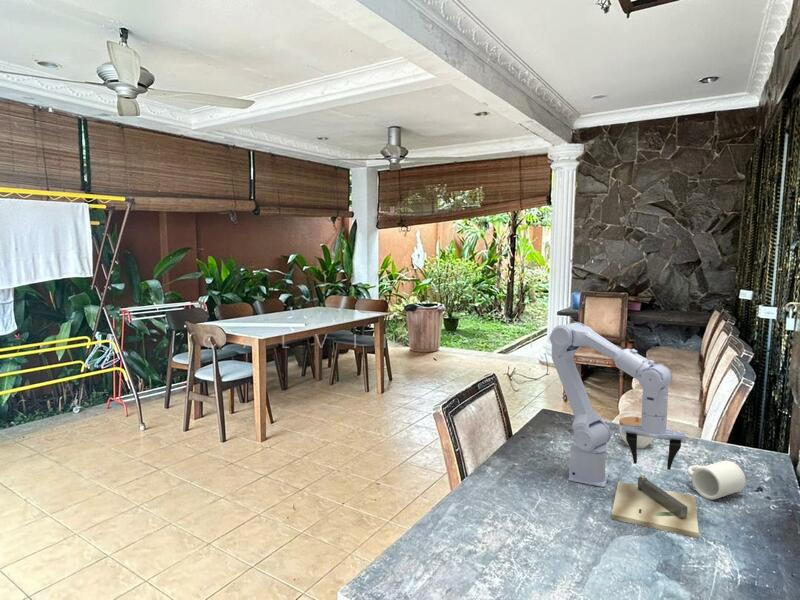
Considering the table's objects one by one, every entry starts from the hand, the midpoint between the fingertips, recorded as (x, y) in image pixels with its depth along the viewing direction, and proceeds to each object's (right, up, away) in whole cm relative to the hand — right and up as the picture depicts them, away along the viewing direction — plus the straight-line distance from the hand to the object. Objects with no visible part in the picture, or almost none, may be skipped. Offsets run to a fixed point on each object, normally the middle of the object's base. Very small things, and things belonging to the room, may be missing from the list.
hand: (651, 465), depth 130 cm
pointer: (+1, -8, -2) cm, 9 cm away
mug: (+18, -9, +6) cm, 21 cm away
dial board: (-1, -10, -3) cm, 10 cm away
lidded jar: (+13, -6, +38) cm, 40 cm away
